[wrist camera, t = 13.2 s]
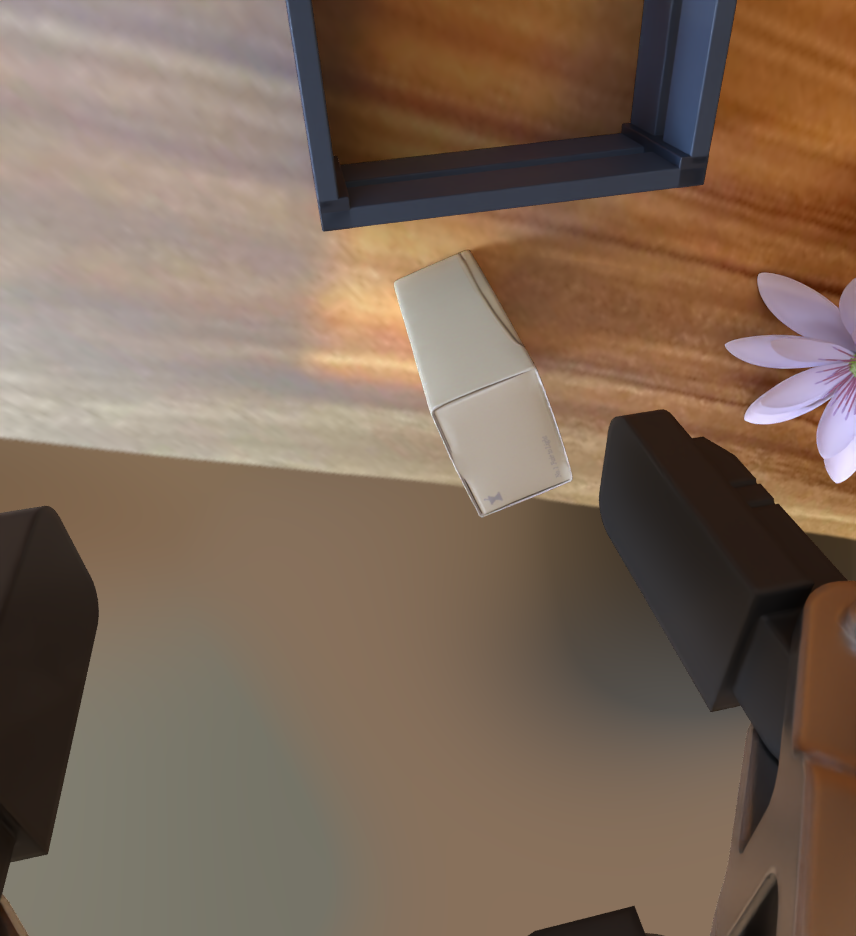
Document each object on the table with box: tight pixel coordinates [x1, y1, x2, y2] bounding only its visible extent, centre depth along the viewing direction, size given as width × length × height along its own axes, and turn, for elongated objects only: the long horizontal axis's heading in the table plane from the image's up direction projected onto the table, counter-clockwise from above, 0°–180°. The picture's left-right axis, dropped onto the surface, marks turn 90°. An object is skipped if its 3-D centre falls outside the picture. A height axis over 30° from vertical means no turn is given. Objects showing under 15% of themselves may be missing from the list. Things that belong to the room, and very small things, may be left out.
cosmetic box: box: [394, 250, 573, 517], centre depth 32 cm, size 6×4×12 cm
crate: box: [285, 0, 737, 231], centre depth 26 cm, size 16×12×6 cm
